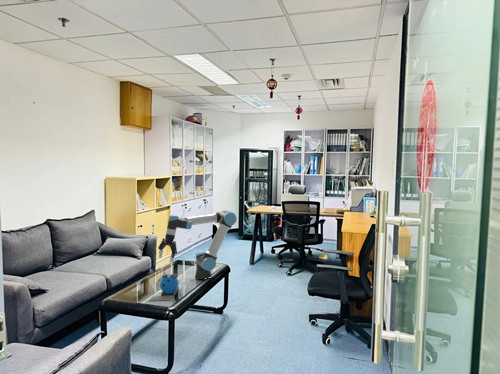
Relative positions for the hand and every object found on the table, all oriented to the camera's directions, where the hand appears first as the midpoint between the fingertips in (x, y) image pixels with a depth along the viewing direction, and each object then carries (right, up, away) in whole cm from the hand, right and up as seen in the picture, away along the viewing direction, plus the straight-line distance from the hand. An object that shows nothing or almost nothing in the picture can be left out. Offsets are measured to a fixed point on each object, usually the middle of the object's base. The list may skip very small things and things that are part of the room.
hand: (165, 259), depth 272 cm
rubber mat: (+2, -25, -22) cm, 33 cm away
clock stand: (+6, -24, -10) cm, 27 cm away
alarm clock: (+6, -24, -10) cm, 27 cm away
